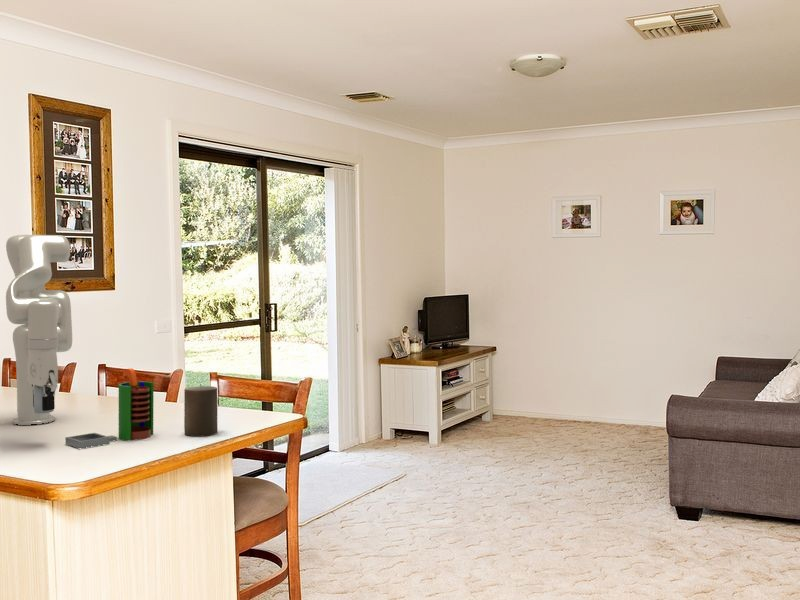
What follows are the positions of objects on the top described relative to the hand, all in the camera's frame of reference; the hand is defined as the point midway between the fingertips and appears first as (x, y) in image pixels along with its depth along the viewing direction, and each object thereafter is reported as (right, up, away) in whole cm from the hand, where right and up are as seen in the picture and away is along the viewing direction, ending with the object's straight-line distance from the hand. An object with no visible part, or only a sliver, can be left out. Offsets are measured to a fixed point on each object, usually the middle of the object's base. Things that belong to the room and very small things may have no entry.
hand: (43, 407), depth 223 cm
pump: (0, -1, 0) cm, 1 cm away
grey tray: (+14, -10, +1) cm, 17 cm away
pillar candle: (+41, -10, +14) cm, 44 cm away
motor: (+23, -10, +9) cm, 26 cm away
